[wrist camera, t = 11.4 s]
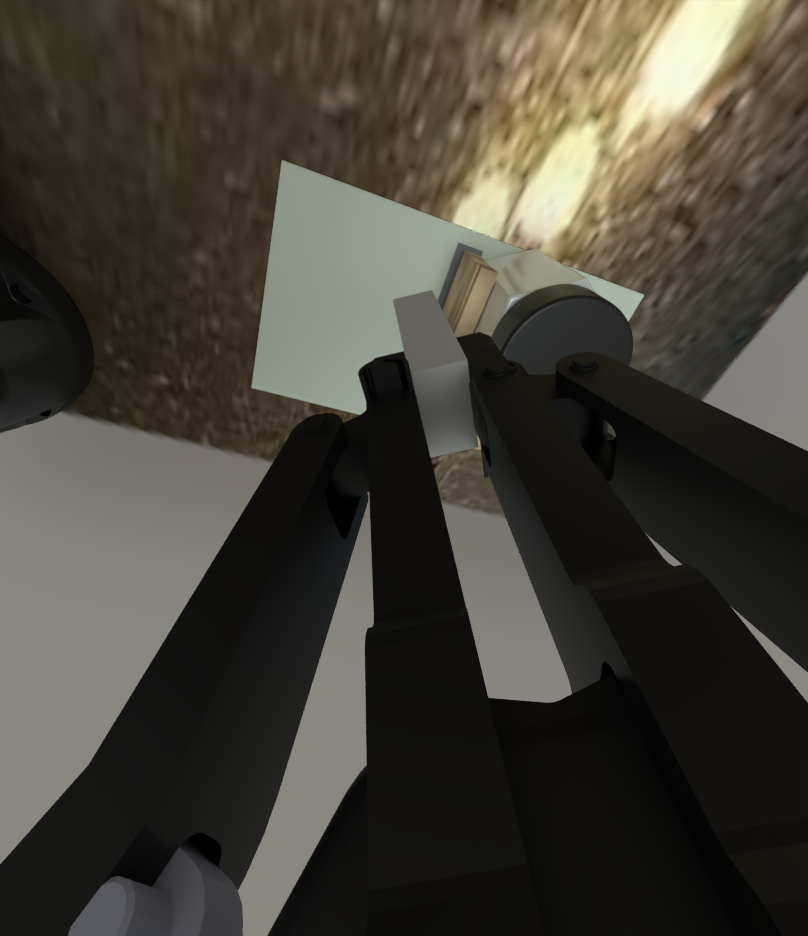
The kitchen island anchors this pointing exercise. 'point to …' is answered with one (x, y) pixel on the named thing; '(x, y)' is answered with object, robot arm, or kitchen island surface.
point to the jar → (550, 314)
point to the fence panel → (468, 293)
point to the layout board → (355, 284)
